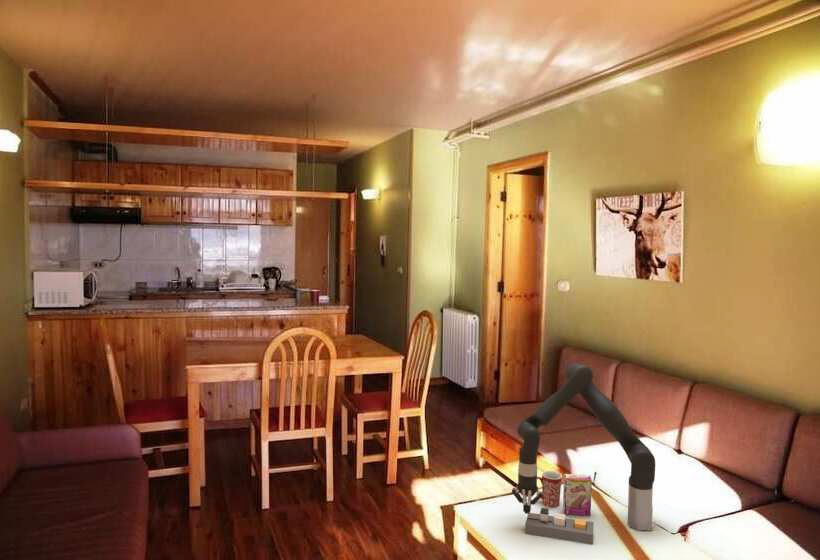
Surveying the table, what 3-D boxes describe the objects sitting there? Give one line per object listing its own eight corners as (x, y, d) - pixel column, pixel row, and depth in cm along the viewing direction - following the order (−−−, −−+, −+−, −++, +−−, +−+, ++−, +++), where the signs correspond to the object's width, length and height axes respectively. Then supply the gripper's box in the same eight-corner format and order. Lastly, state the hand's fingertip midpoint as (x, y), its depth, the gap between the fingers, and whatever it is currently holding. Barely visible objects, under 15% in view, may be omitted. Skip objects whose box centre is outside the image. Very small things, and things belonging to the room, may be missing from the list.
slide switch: (548, 522, 235) (548, 508, 234) (547, 527, 231) (547, 513, 231) (541, 521, 236) (541, 507, 235) (540, 526, 232) (540, 512, 231)
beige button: (565, 521, 233) (565, 514, 232) (564, 526, 229) (564, 519, 228) (554, 520, 234) (554, 512, 234) (553, 525, 230) (553, 517, 230)
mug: (561, 500, 260) (561, 471, 258) (562, 509, 251) (562, 479, 250) (532, 497, 262) (533, 468, 261) (532, 506, 254) (532, 477, 252)
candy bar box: (564, 515, 246) (565, 478, 244) (562, 509, 251) (563, 473, 249) (591, 516, 245) (592, 479, 243) (588, 510, 250) (589, 474, 248)
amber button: (585, 527, 230) (585, 520, 230) (585, 532, 226) (585, 525, 226) (574, 525, 232) (575, 518, 231) (574, 530, 228) (574, 523, 227)
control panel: (593, 531, 232) (593, 522, 232) (592, 544, 223) (593, 534, 222) (528, 521, 241) (528, 512, 240) (525, 533, 231) (525, 524, 231)
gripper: (545, 470, 235) (544, 511, 237) (512, 466, 239) (512, 506, 241) (543, 478, 228) (542, 519, 230) (510, 473, 232) (509, 514, 234)
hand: (526, 512), depth 235 cm, fingers closed
